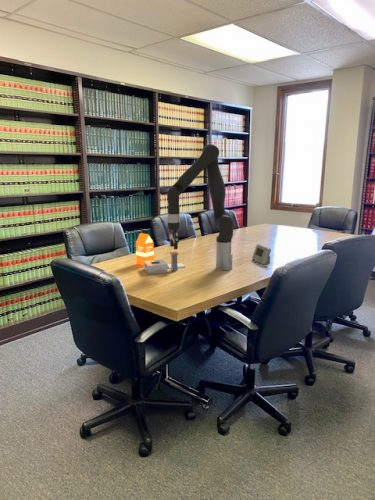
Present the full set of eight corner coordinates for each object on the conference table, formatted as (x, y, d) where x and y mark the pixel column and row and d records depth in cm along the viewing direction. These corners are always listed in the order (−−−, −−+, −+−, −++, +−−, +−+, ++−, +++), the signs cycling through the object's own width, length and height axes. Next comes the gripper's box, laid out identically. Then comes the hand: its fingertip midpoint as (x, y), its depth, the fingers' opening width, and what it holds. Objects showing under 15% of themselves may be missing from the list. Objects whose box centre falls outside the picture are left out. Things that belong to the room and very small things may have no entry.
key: (176, 269, 228) (176, 251, 226) (178, 270, 224) (178, 253, 222) (170, 269, 227) (169, 252, 225) (171, 271, 223) (171, 253, 221)
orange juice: (145, 266, 236) (144, 235, 231) (136, 263, 241) (135, 233, 237) (154, 263, 241) (153, 233, 237) (145, 261, 247) (144, 232, 242)
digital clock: (251, 259, 251) (252, 243, 249) (264, 258, 252) (264, 243, 250) (258, 265, 236) (259, 249, 233) (272, 264, 237) (273, 248, 234)
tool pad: (181, 264, 239) (181, 263, 239) (185, 267, 232) (184, 266, 232) (166, 265, 236) (166, 264, 236) (169, 268, 229) (169, 267, 229)
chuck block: (163, 267, 233) (162, 259, 232) (167, 272, 222) (167, 264, 220) (144, 268, 229) (144, 261, 228) (148, 274, 218) (147, 266, 217)
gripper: (183, 222, 213) (183, 250, 217) (176, 219, 226) (176, 245, 230) (170, 223, 211) (170, 250, 215) (164, 219, 224) (164, 245, 228)
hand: (173, 247), depth 222 cm, fingers open, 8 cm apart
